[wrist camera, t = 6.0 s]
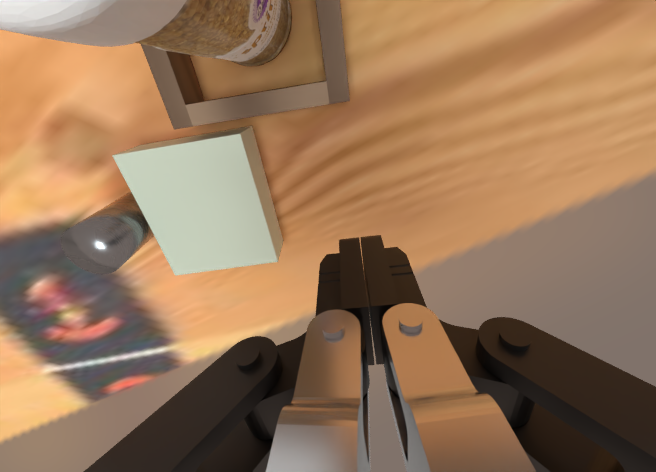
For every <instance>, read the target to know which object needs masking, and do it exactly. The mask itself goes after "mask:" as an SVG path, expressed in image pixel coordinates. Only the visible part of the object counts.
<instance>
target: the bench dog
mask: <svg viewBox="0 0 656 472" xmlns="http://www.w3.org/2000/svg"><path fill="white" fill-rule="evenodd" d="M153 236H154V234H153V232H152V230H151V228H150V226H149V224H148V222H147V221H146V219H145V217H144V215H143V213H142V211H141V209H140V207H139V205H138V203H137V202H136V200H135V198H134V196H133V194H132V192H131V193H128V194H127V195H125V196H123V197H121V198H120V199H118V200H116V201H115V202H113V203H111V204H110V205H108V206H106V207H105V208H103V209H101V210H99V211H98V212H96V213H94V214H93V215H91V216H89V217H88V218H86V219H84V220H83V221H81V222H79V223H77V224H76V225H74V226H72V227H71V228H69V229H67V230H66V231H65V232H64V233H63V234H62V237H61V246H62V249H63V251H64V253H65V255H66V256H67V257H68V258H69V259H70V260H71V261H72V262H73V263H74V264H75V265H77V266H78V267H80V268H82V269H84V270H86V271H88V272H92V273H96V274H109V273H112V272H114V271H116V270H117V269H118V268H119V267H121V266H122V265H123V264H124V263H125V262H126V261H127V260H128V259H129V258H130V257H131V256H132V255H134V254H135V253H136V252H137V251H138V250H139V249H140V248H141V247H142V246H143V245H144V244H145V243H147V242H148V241H149V240H150V239H151V238H152V237H153Z"/></svg>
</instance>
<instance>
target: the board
mask: <svg viewBox="0 0 656 472" xmlns="http://www.w3.org/2000/svg"><path fill="white" fill-rule="evenodd" d="M112 156H113V158H114V160H115V162H116V163H117V165H118V167H119V169H120V171H121V173H122V175H123V177H124V179H125V181H126V182H127V184H128V186H129V188H130V190H131V192H132V194H133V196H134V198H135V200H136V202H137V203H138V205H139V207H140V209H141V211H142V213H143V215H144V217H145V219H146V221H147V222H148V224H149V226H150V228H151V230H152V232H153V234H154V236H155V238H156V240H157V242H158V243H159V245H160V247H161V249H162V251H163V253H164V255H165V257H166V259H167V261H168V262H169V264H170V266H171V268H172V270H173V272H174V274H175V275H183V274H190V273H198V272H205V271H213V270H220V269H228V268H235V267H243V266H250V265H258V264H265V263H272V262H278V260H279V256H280V252H281V248H282V245H283V238H282V234H281V230H280V227H279V223H278V219H277V216H276V212H275V208H274V205H273V201H272V197H271V194H270V190H269V186H268V182H267V179H266V175H265V171H264V168H263V164H262V160H261V157H260V153H259V149H258V146H257V142H256V138H255V135H254V131H253V127H252V126H248V127H242V128H236V129H230V130H224V131H219V132H213V133H207V134H201V135H195V136H190V137H184V138H178V139H172V140H166V141H160V142H155V143H149V144H143V145H139V146H136V147H134V148H131V149H128V150H126V151H123V152H120V153H118V154H115V155H112Z"/></svg>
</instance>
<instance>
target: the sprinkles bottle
mask: <svg viewBox="0 0 656 472" xmlns="http://www.w3.org/2000/svg"><path fill="white" fill-rule="evenodd" d="M291 19H292V16H291V7H290V1H289V0H0V29H2V30H6V31H11V32H16V33H21V34H25V35H30V36H36V37H41V38H47V39H52V40H58V41H64V42H71V43H77V44H84V45H93V46H110V47H112V46H121V45H127V44H132V43H140V44H144V45H150V46H153V47H155V48H158V49H161V50H165V51H172V52H178V53H184V54H189V55H196V56H203V57H210V58H217V59H225V60H230V61H232V62H235V63H238V64H240V65H244V66H258V65H262V64H264V63H266V62H269V61H270V60H272V59H274V58H275V57H276V56H277V55H278V54H279V52H280V51H281V49H282V48H283V47H284V45H285V42H286V40H287V38H288V34H289V32H290V28H291Z"/></svg>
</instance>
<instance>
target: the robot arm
mask: <svg viewBox="0 0 656 472" xmlns="http://www.w3.org/2000/svg"><path fill="white" fill-rule="evenodd" d="M361 247H362V256H361V249H360V242H359V238H350V239H341V240H339V251H340V253H337V254H327V255H326V256H325V257H324V259H323V260H322V262H321V263H320V270H319V284H318V295H317V307H316V317H315V318H314V319H313V320H312V321H311V322H310V324H309V326H308V328H307V332H306V333H304V334H303V335H302V336H300V337H298V338H296V339H294V340H291V341H288V342H286V343H283V344H280V345H278V346H276V345H275V344H274V342H273V341H272V340H270V339H268V338H266V337H261V336H255V337H250V338H247V339H244V340H242V341H240V342H238V343H237V344H236V345H234V346H233V347H232V348H230V349H229V350H228V351H227V352H226V353H224V354H223V355H222V356H221V357H220V358H219V359H217V360H216V361H215V362H214V363H213V364H212V365H210V366H209V367H208V368H207V369H205V370H204V371H203V372H202V373H201V374H200V375H198V376H197V377H196V378H195V379H194V380H192V381H191V382H190V383H189V384H188V385H186V386H185V387H184V388H183V389H182V390H180V391H179V392H178V393H177V394H176V395H175V396H173V397H172V398H171V399H170V400H169V401H167V402H166V403H165V404H164V405H163V406H161V407H160V408H159V409H158V410H157V411H155V412H154V413H153V414H152V415H151V416H149V417H148V418H147V419H146V420H145V421H144V422H142V423H141V424H140V425H139V426H138V427H137V428H135V429H134V430H133V431H132V432H131V433H130V434H128V435H127V436H126V437H125V438H123V439H122V440H121V441H120V442H119V443H117V444H116V445H115V446H114V447H113V448H111V449H110V450H109V451H108V452H107V453H106V454H104V455H103V456H102V457H101V458H99V459H98V460H97V461H96V462H95V463H94V464H93V465H91V466H90V467H89V468H88V469H86V470H85V471H84V472H371V467H370V431H369V430H370V429H369V392H368V388H369V371H368V365H374V356H373V347H372V336H371V327H372V335H373V342H374V349H375V356H376V364H384V367H385V373H386V382H387V392H388V396H389V400H390V404H391V409H392V413H393V417H394V421H395V425H396V429H397V433H398V438H399V441H400V446H401V450H402V454H403V458H404V463H405V467H406V472H656V387H655V386H653V385H651V384H649V383H647V382H644V381H643V380H641V379H639V378H637V377H635V376H633V375H631V374H629V373H627V372H625V371H622V370H621V369H619V368H617V367H615V366H613V365H611V364H609V363H606V362H604V361H602V360H600V359H598V358H596V357H594V356H592V355H590V354H588V353H586V352H584V351H582V350H580V349H578V348H576V347H574V346H572V345H570V344H568V343H566V342H564V341H562V340H560V339H558V338H556V337H554V336H552V335H550V334H548V333H546V332H544V331H542V330H539V329H538V328H536V327H534V326H532V325H530V324H527V323H525V322H523V321H520V320H517V319H513V318H505V317H497V318H492V319H489V320H487V321H485V322H484V323H483V324H482V325H481V326H480V328H479V330H476V329H470V328H464V327H459V326H454V325H450V324H447V323H445V322H443V321H441V320H439V319H438V318H437V316H436V315H435V314H434V313H433V312H432V311H431V310H430V309H428V308H427V306H426V304H425V302H424V299H423V297H422V294H421V291H420V289H419V286H418V284H417V281H416V278H415V276H414V274H413V271H412V268H411V266H410V263H409V260H408V258H407V255H406V254H405V253H404V252H403V251H401V250H400V249H399V248H398V247H392V248H384V245H383V242H382V238H381V235H376V236H367V237H361ZM362 257H363V263H362ZM363 267H364V270H363ZM364 276H365V277H364ZM369 314H370V316H369ZM370 321H371V326H370Z"/></svg>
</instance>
